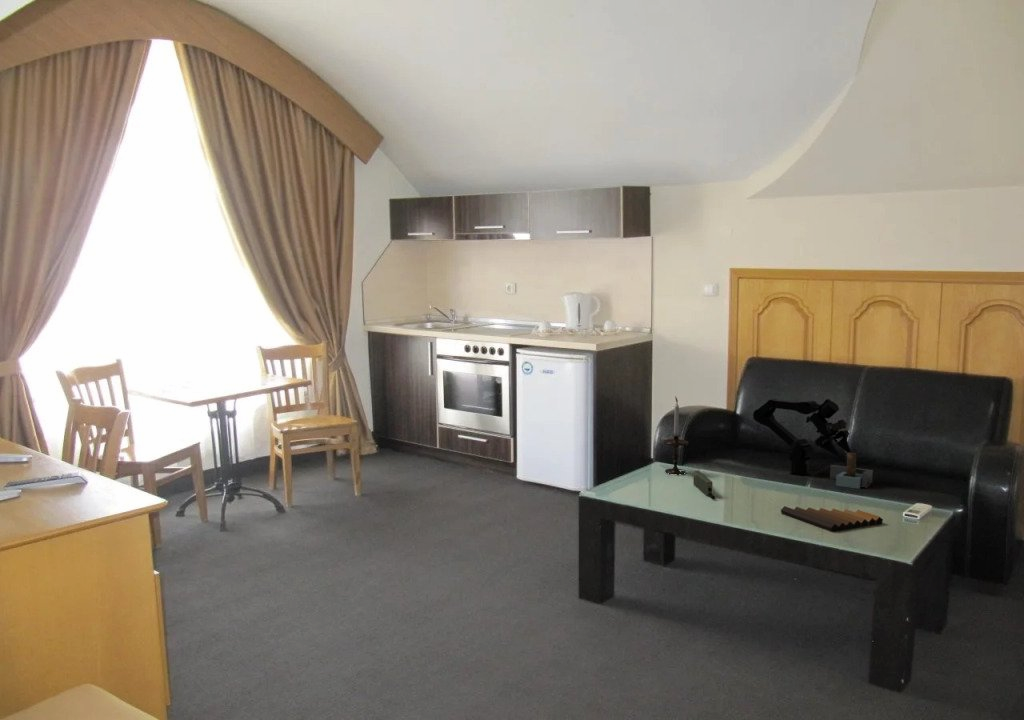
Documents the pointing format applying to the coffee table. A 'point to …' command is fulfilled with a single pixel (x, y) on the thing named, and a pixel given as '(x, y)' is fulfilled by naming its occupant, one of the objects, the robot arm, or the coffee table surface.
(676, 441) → the candlestick
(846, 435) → the robot arm
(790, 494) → the coffee table surface
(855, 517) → the pan flute
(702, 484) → the handheld radio
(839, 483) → the socket block
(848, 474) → the dowel
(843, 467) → the corner stop
